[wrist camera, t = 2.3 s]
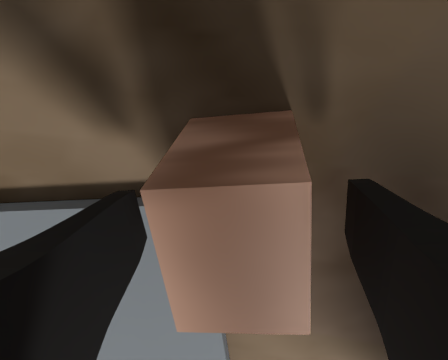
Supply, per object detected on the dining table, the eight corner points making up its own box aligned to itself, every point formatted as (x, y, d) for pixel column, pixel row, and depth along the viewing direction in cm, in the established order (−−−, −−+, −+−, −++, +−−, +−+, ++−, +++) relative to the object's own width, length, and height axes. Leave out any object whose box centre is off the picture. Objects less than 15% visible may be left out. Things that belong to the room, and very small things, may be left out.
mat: (202, 194, 15) (199, 203, 14) (233, 383, 21) (232, 396, 20) (-30, 204, 16) (-43, 213, 16) (63, 375, 23) (56, 387, 22)
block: (291, 110, 12) (311, 182, 7) (293, 218, 15) (310, 334, 9) (190, 118, 13) (139, 190, 8) (207, 221, 15) (177, 332, 10)
